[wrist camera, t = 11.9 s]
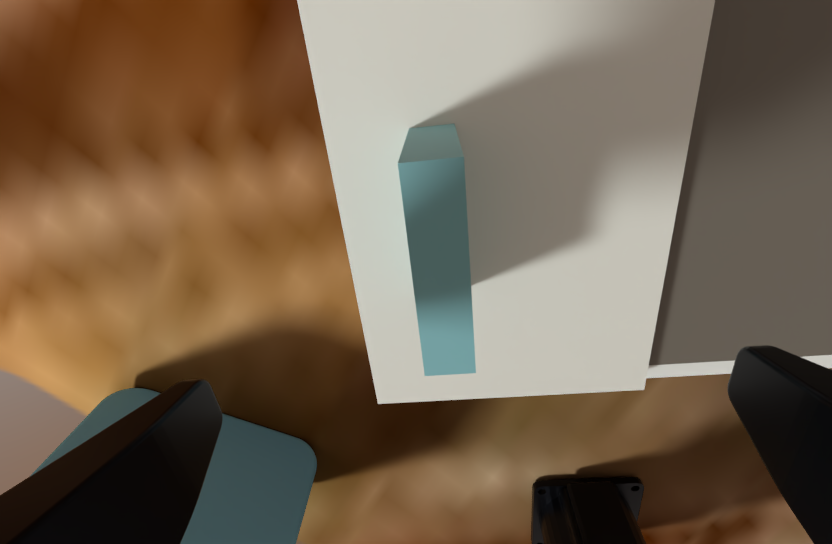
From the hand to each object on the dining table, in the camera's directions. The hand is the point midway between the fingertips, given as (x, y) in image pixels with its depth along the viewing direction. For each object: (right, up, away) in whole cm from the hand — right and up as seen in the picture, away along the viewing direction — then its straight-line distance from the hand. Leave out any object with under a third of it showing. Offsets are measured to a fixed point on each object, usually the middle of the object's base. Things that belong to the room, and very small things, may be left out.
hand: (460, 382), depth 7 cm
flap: (+2, +4, +5) cm, 7 cm away
